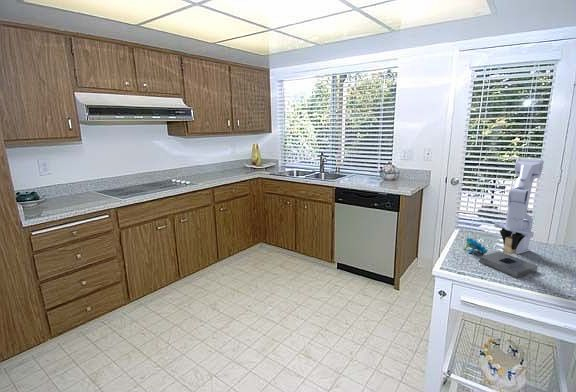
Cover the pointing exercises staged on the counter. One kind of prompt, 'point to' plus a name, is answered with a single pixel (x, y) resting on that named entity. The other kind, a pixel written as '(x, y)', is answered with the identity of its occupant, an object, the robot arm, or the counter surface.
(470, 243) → the blue irregular piece
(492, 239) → the counter surface
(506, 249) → the tan wooden beam
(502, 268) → the gray slab with hole
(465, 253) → the counter surface
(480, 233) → the counter surface
